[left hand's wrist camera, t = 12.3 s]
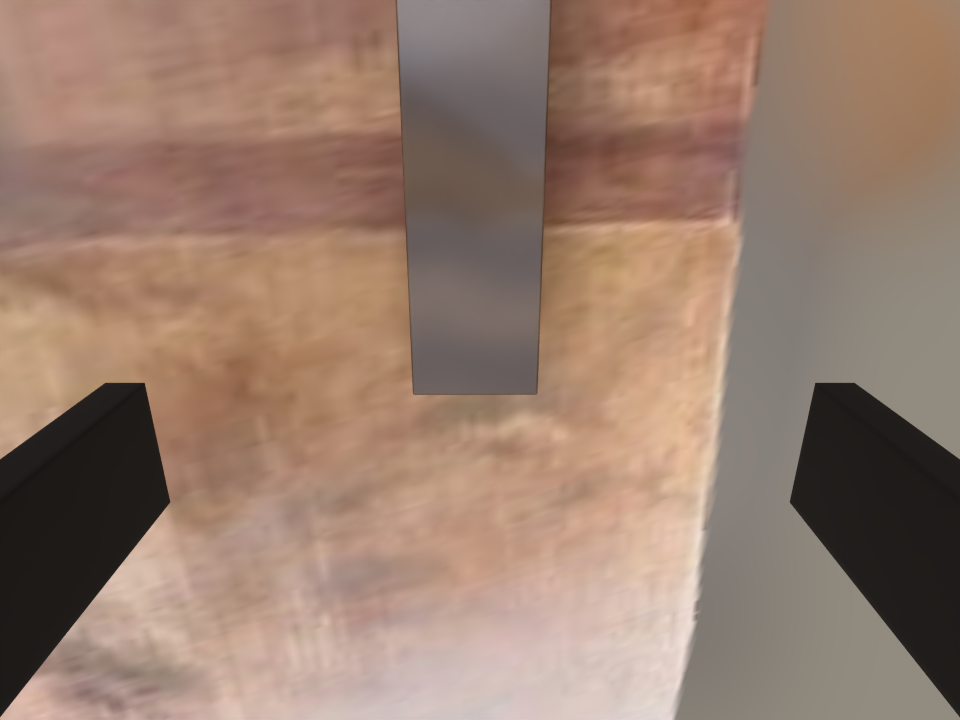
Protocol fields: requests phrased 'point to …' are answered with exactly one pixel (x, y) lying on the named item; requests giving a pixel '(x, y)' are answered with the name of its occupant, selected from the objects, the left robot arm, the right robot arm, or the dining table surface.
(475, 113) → the post
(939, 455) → the left robot arm
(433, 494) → the dining table surface
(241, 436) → the dining table surface
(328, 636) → the dining table surface
